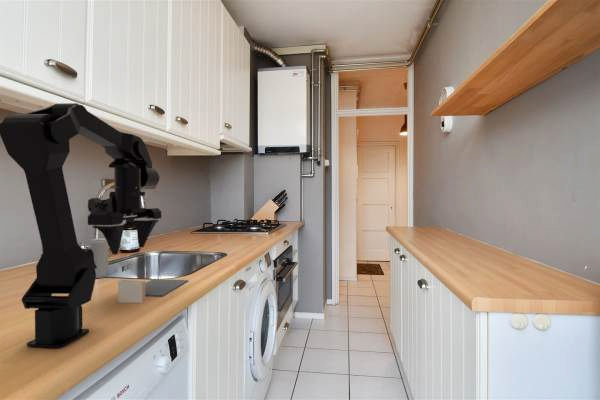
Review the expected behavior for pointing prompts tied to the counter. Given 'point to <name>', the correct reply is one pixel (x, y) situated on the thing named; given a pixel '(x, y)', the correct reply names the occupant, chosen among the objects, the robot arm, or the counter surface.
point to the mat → (162, 286)
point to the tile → (131, 291)
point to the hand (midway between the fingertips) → (128, 250)
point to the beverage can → (100, 256)
